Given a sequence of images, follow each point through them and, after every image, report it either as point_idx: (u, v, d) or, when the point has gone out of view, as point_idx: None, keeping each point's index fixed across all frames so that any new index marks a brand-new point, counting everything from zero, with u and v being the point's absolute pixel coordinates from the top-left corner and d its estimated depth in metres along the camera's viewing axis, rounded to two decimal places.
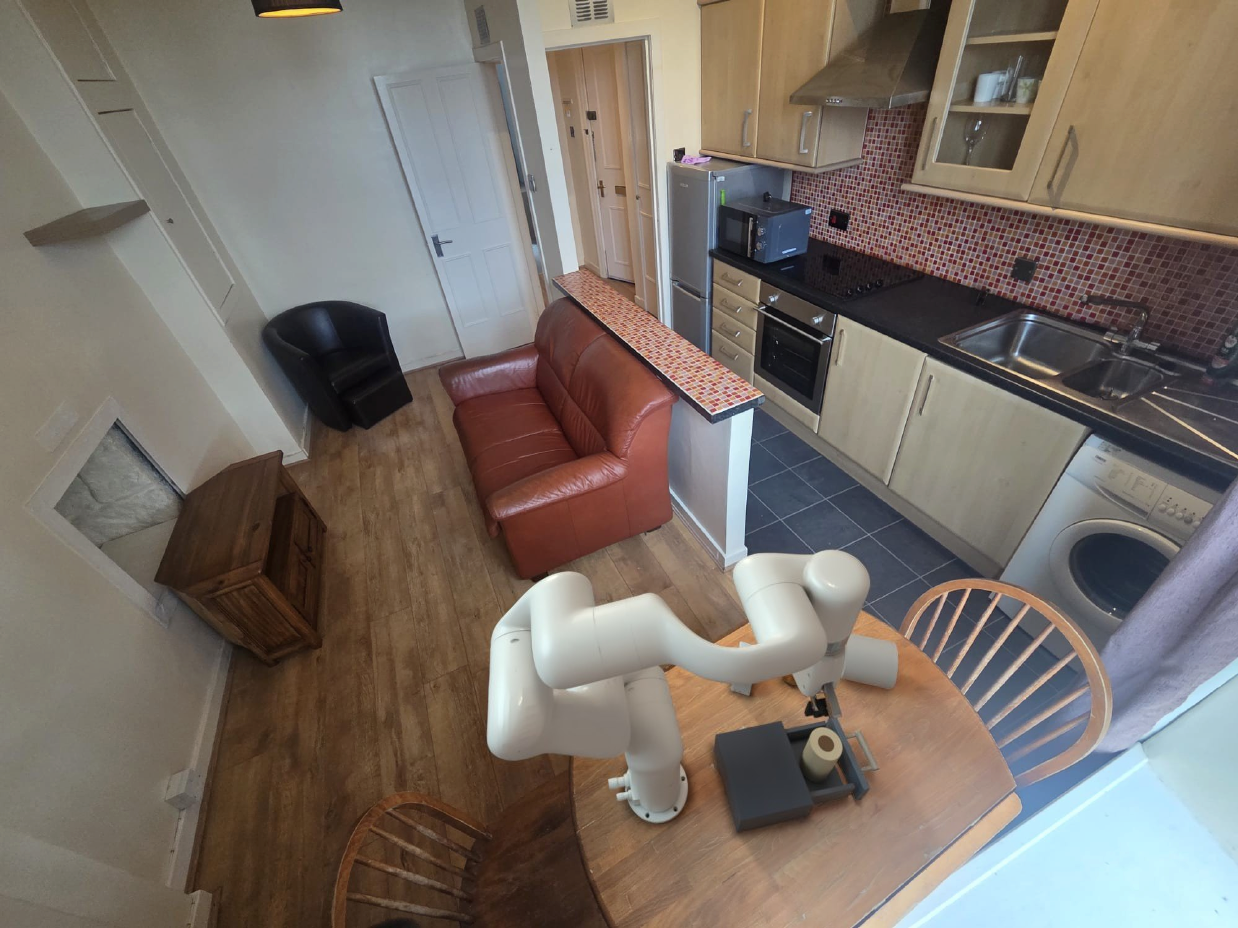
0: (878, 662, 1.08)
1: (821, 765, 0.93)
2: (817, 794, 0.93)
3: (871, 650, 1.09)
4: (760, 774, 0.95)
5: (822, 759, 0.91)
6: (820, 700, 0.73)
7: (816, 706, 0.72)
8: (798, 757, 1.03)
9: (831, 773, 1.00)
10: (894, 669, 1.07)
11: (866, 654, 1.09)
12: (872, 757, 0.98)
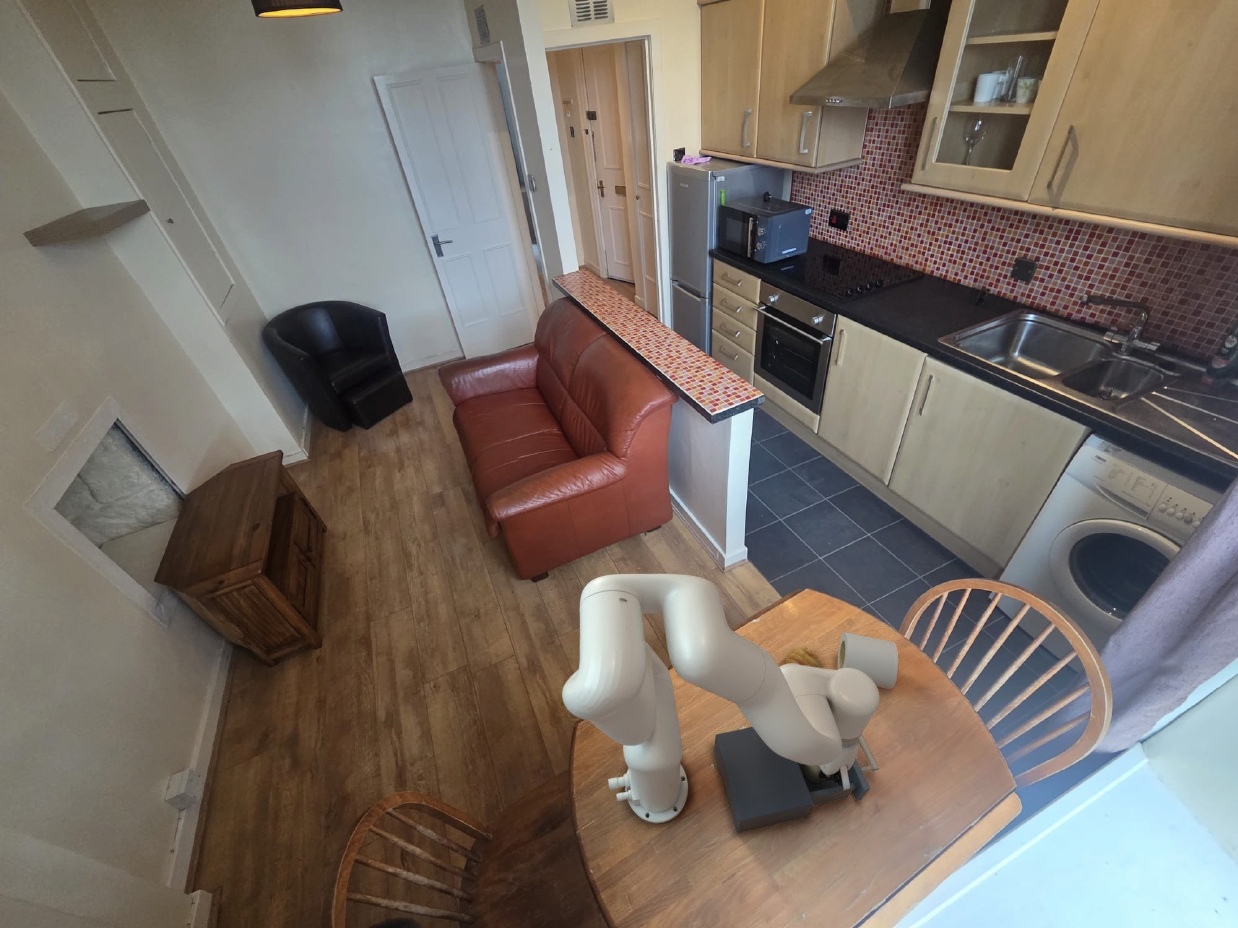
0: (878, 662, 1.08)
1: None
2: (817, 794, 0.93)
3: (871, 650, 1.09)
4: (760, 774, 0.95)
5: None
6: None
7: None
8: None
9: None
10: (894, 669, 1.07)
11: (866, 654, 1.09)
12: (872, 757, 0.98)
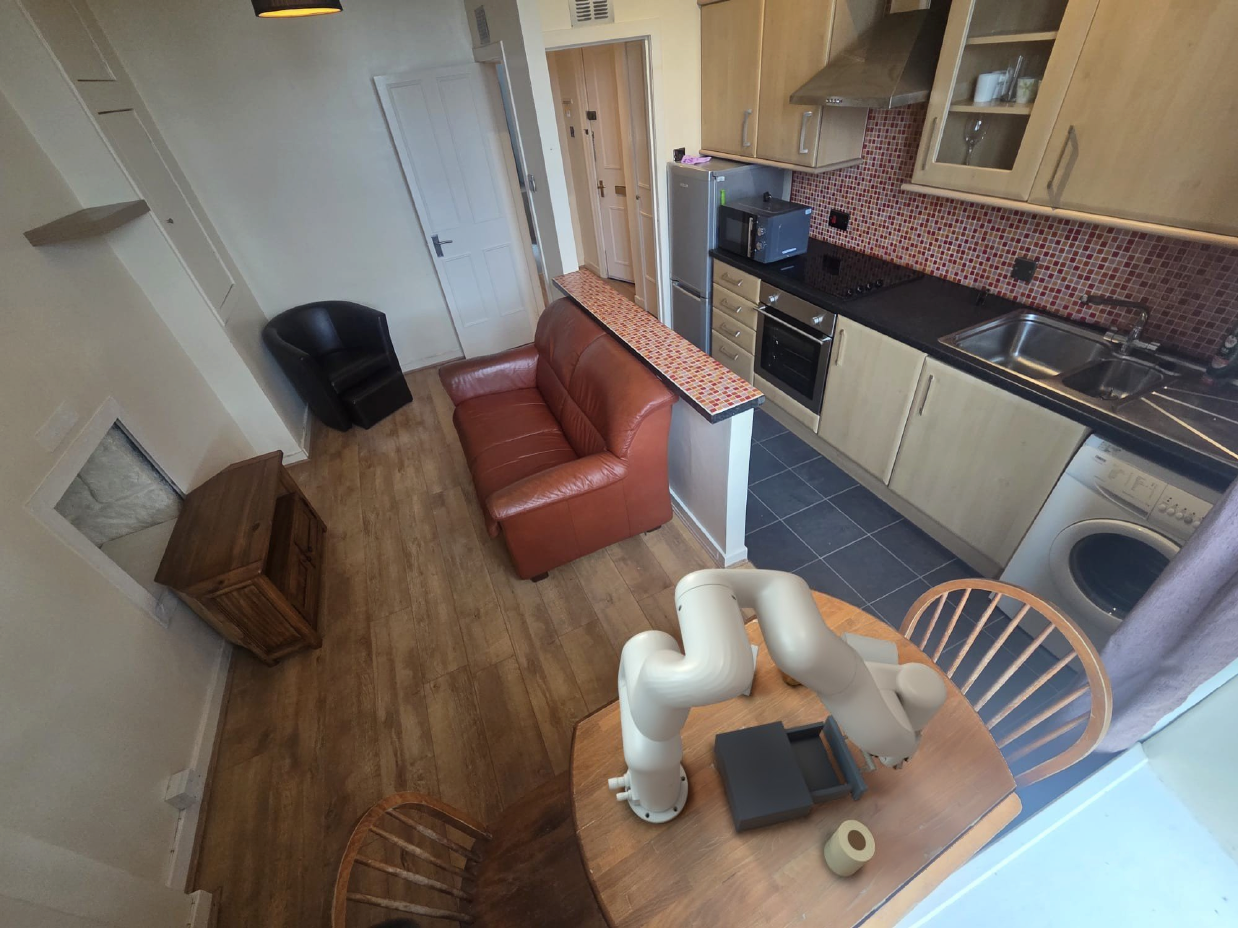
0: None
1: (851, 864, 0.84)
2: (815, 794, 0.93)
3: (871, 650, 1.09)
4: (760, 774, 0.95)
5: (853, 859, 0.82)
6: None
7: None
8: (796, 757, 1.02)
9: (829, 773, 1.00)
10: None
11: (866, 654, 1.09)
12: (870, 757, 0.98)
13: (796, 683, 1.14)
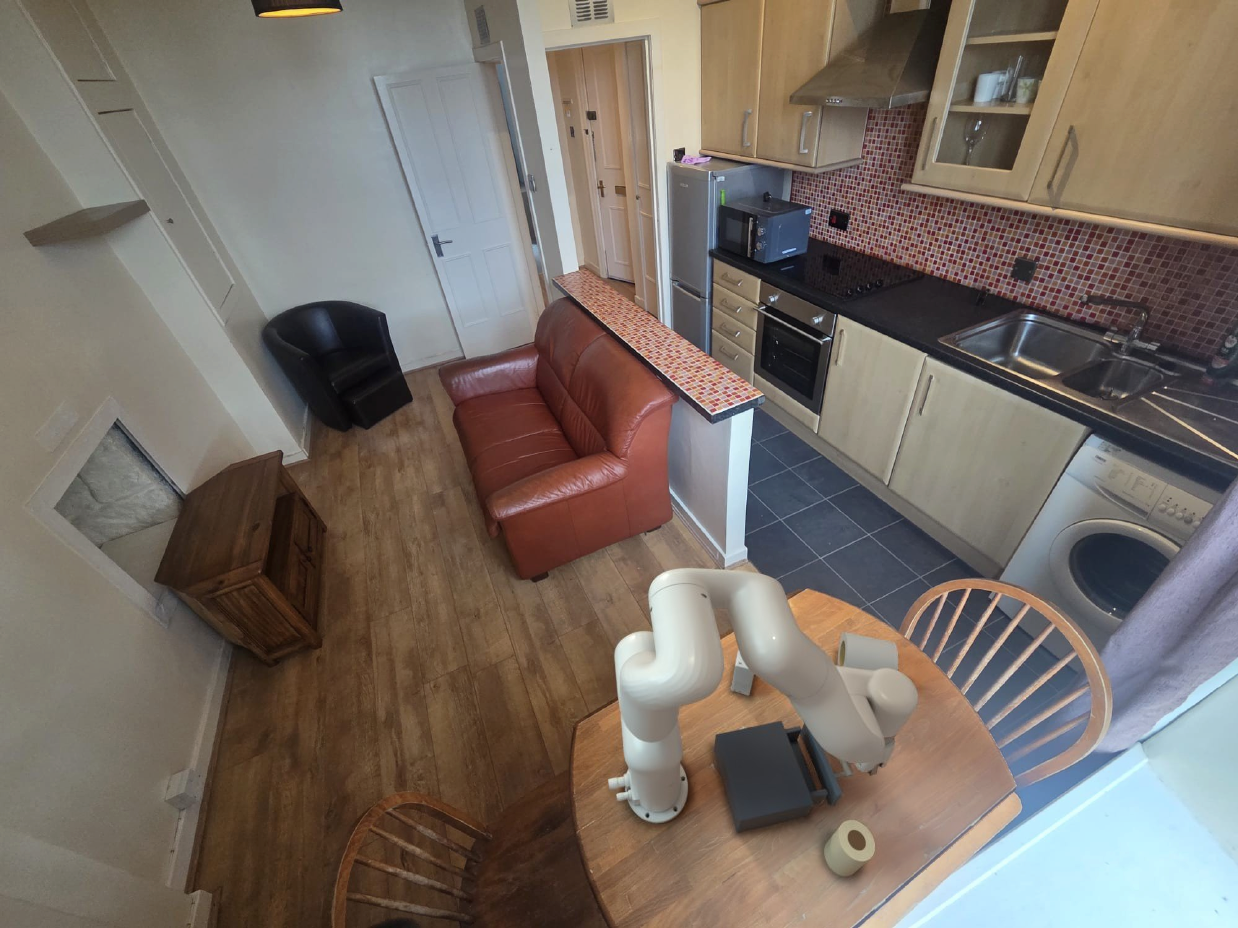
0: (878, 662, 1.08)
1: (851, 864, 0.84)
2: None
3: (871, 650, 1.09)
4: (760, 774, 0.95)
5: (853, 859, 0.82)
6: None
7: None
8: None
9: (805, 779, 1.00)
10: None
11: (866, 654, 1.09)
12: (846, 763, 0.98)
13: None
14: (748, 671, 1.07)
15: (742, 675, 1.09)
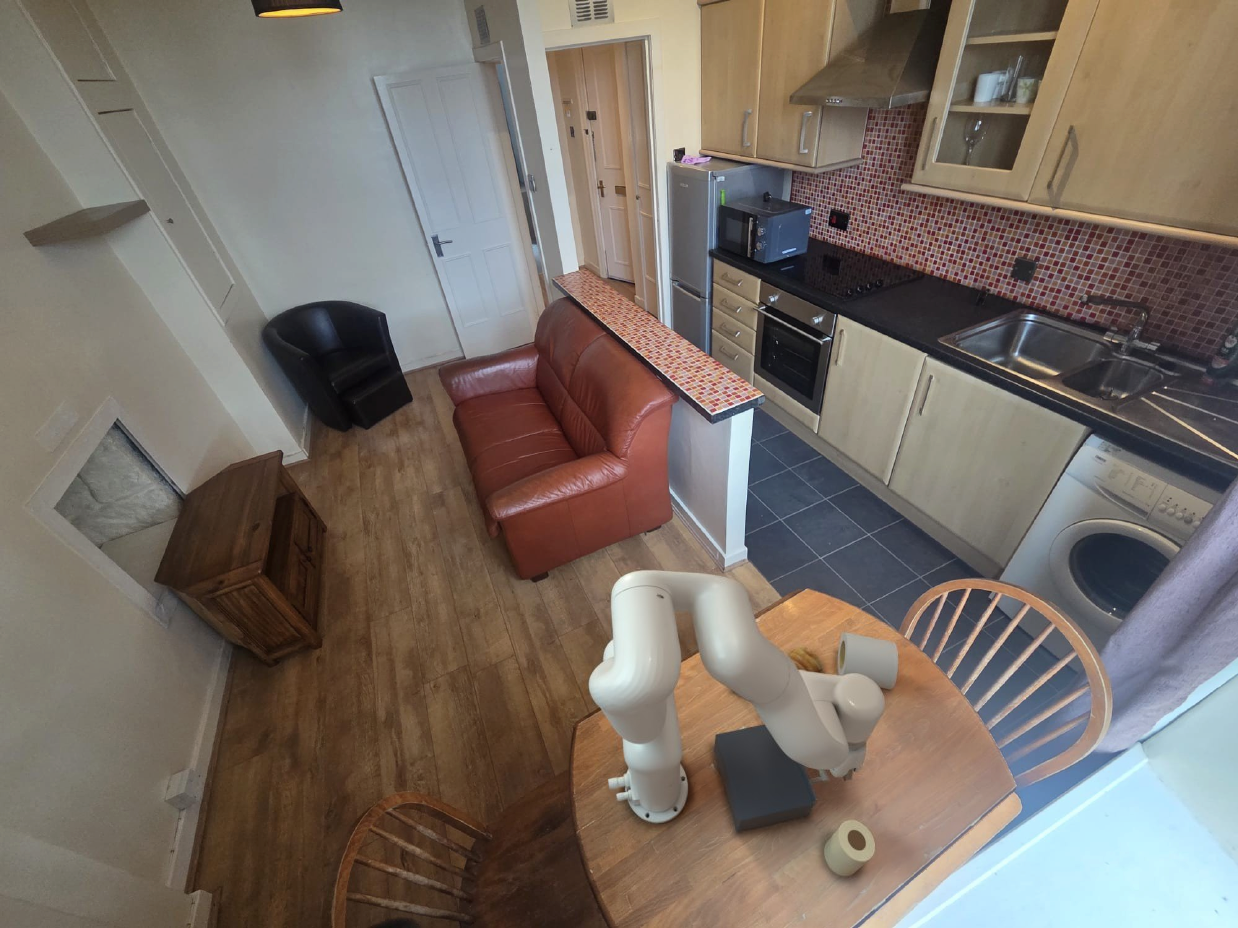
0: (878, 662, 1.08)
1: (851, 864, 0.84)
2: None
3: (871, 650, 1.09)
4: (760, 774, 0.95)
5: (853, 859, 0.82)
6: None
7: None
8: None
9: None
10: (894, 669, 1.07)
11: (866, 654, 1.09)
12: None
13: None
14: None
15: None
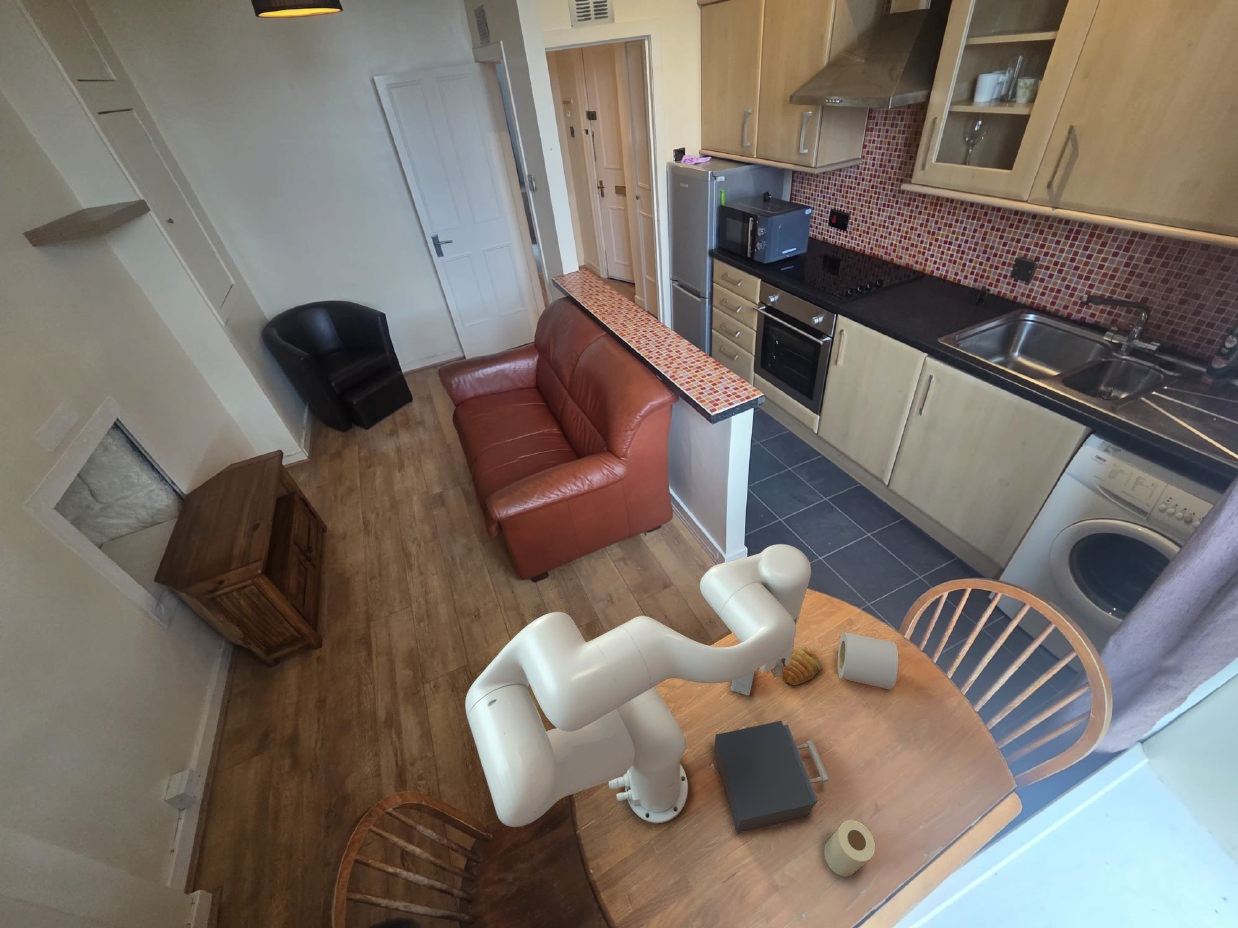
0: (878, 662, 1.08)
1: (851, 864, 0.84)
2: None
3: (870, 650, 1.09)
4: (760, 774, 0.95)
5: (853, 859, 0.82)
6: None
7: None
8: None
9: None
10: (894, 669, 1.07)
11: (866, 654, 1.09)
12: (822, 768, 0.97)
13: (796, 683, 1.14)
14: None
15: None
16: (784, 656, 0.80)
